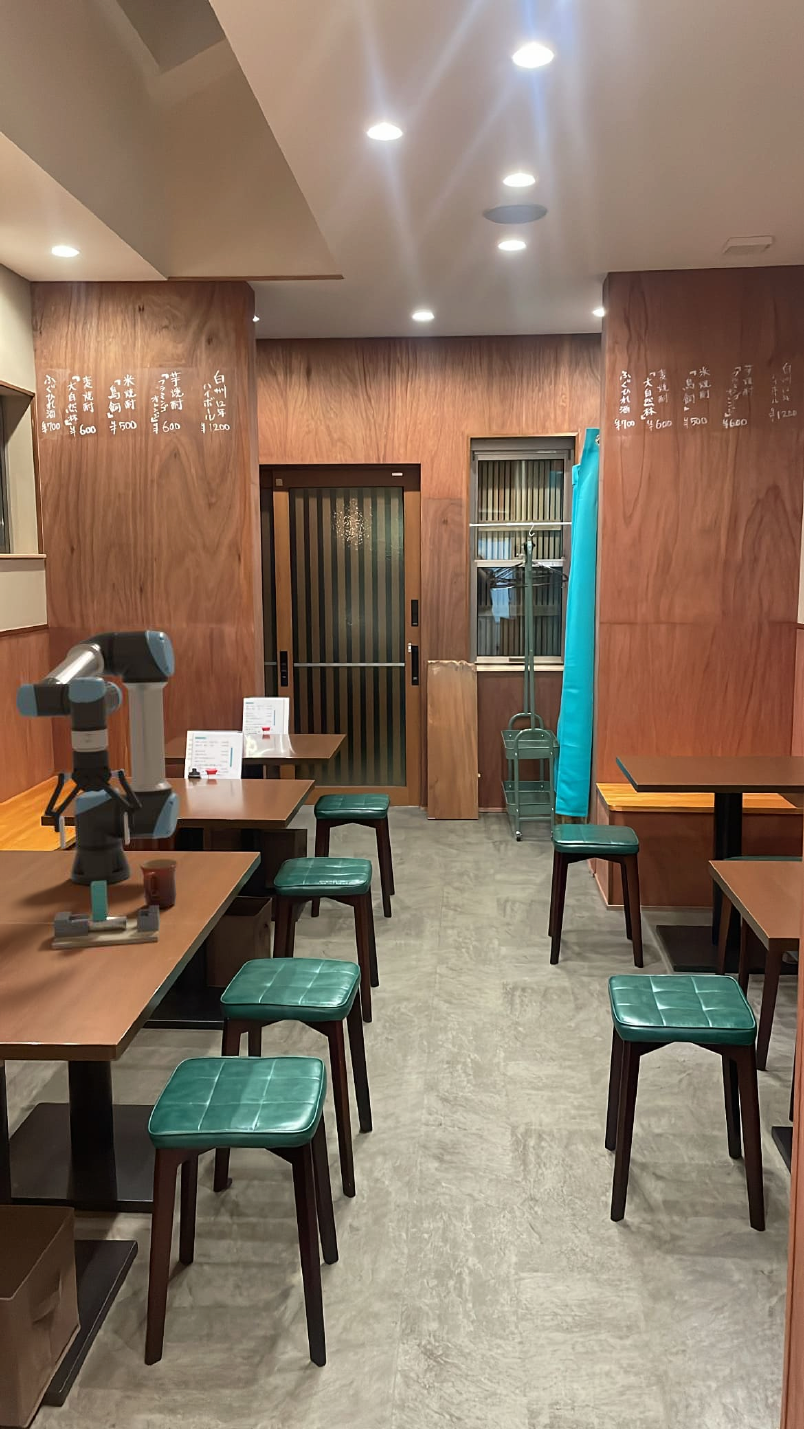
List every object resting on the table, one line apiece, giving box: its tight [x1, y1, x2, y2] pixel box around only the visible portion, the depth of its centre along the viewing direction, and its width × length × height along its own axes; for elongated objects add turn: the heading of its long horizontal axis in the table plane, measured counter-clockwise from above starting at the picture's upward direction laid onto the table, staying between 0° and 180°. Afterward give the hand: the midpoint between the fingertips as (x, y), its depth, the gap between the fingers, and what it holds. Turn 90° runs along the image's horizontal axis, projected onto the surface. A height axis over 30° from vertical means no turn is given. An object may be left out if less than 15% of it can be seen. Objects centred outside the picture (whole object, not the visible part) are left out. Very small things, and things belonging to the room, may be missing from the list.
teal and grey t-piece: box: [69, 881, 128, 932], centre depth 235 cm, size 3×15×11 cm, turn 100°
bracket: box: [53, 911, 91, 939], centre depth 235 cm, size 6×7×4 cm
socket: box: [136, 905, 161, 932], centre depth 238 cm, size 6×4×4 cm
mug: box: [140, 858, 179, 910], centre depth 256 cm, size 12×9×10 cm
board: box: [51, 916, 161, 950], centre depth 237 cm, size 14×22×1 cm, turn 100°
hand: (95, 845), depth 234 cm, fingers open, 13 cm apart
